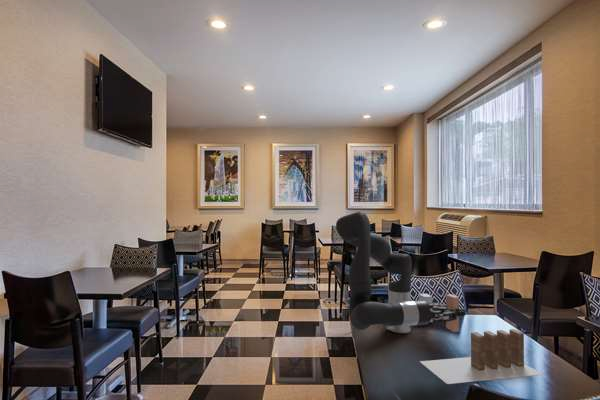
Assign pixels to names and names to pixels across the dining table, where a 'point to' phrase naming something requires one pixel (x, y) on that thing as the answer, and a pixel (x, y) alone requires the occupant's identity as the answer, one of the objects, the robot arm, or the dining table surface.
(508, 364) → the domino
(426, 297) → the skincare box
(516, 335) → the domino
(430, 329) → the dining table surface
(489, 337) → the domino
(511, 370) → the mat
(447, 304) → the loose domino
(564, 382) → the dining table surface
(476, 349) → the domino
